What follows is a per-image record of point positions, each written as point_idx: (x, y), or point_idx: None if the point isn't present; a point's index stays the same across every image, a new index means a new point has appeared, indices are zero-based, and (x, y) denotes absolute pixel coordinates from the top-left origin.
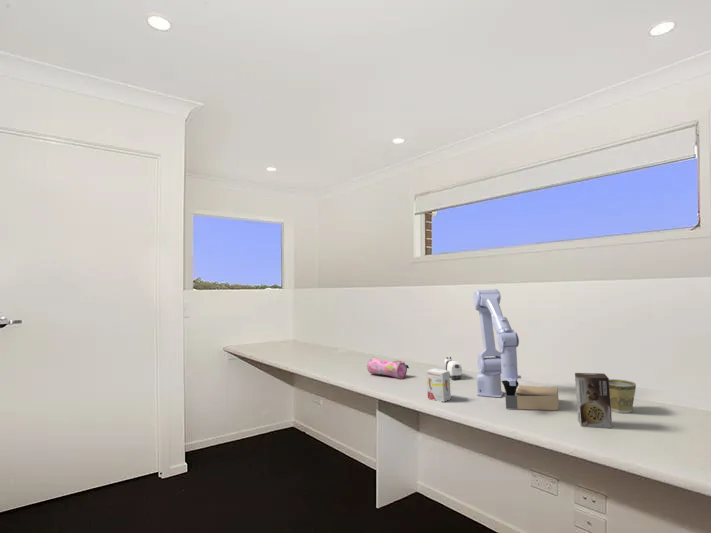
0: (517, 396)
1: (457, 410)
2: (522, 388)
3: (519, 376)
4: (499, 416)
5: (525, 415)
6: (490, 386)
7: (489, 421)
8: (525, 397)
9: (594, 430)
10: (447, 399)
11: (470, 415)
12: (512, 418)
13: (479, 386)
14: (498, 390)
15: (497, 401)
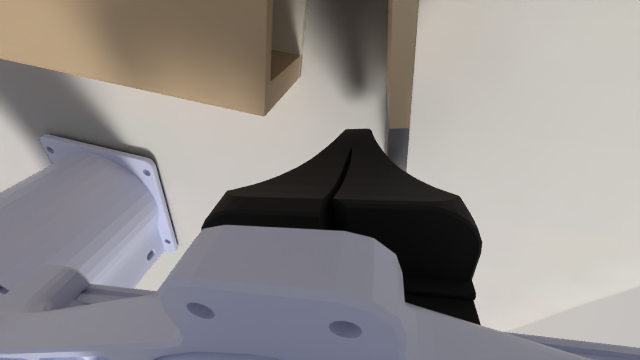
0: (408, 120)
1: None
2: (42, 22)
3: (347, 341)
4: (548, 210)
5: (576, 26)
6: (119, 245)
7: (634, 265)
8: (416, 13)
9: None
10: None
11: (497, 309)
12: (627, 143)
13: (135, 277)
14: (105, 187)
15: (232, 182)
